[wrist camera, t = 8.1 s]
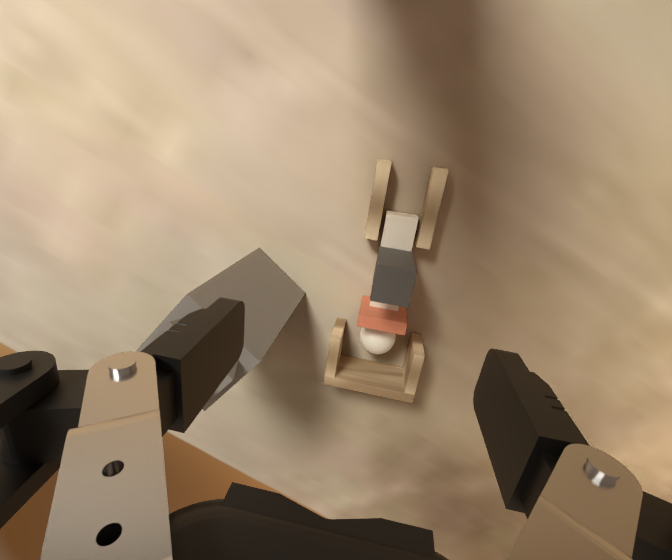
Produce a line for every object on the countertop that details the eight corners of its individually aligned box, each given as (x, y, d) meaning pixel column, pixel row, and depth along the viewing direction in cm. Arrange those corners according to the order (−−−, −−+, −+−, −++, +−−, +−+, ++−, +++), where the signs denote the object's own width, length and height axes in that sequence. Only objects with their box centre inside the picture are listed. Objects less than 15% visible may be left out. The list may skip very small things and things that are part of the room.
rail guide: (378, 159, 31) (377, 158, 29) (445, 168, 30) (448, 169, 29) (365, 234, 33) (364, 238, 31) (427, 244, 33) (429, 249, 31)
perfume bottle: (305, 292, 36) (231, 404, 20) (265, 329, 39) (168, 458, 22) (259, 247, 36) (141, 323, 19) (221, 288, 38) (85, 388, 21)
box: (337, 317, 37) (330, 337, 33) (420, 334, 36) (424, 356, 32) (330, 360, 39) (323, 383, 34) (410, 377, 38) (412, 403, 34)
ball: (361, 326, 33) (355, 357, 34) (398, 333, 32) (391, 364, 34) (364, 309, 36) (359, 338, 37) (398, 316, 35) (391, 344, 37)
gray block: (378, 208, 32) (374, 223, 25) (425, 216, 32) (436, 233, 24) (361, 306, 36) (352, 345, 28) (403, 314, 35) (406, 356, 28)
